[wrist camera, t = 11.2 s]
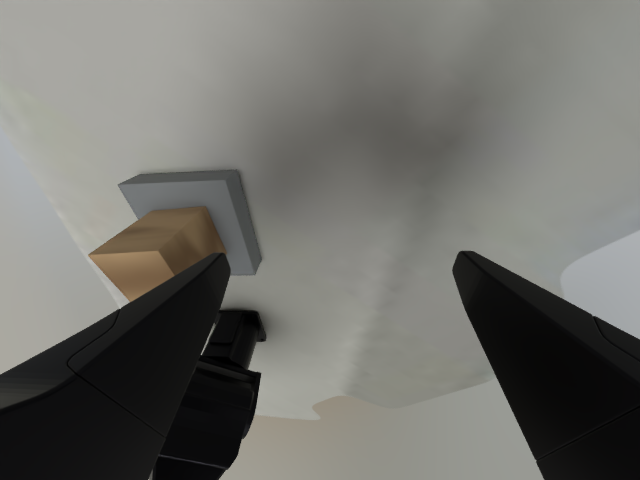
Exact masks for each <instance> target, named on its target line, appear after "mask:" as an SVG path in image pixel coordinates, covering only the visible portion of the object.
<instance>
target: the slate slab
mask: <svg viewBox="0 0 640 480" xmlns="http://www.w3.org/2000/svg"><path fill="white" fill-rule="evenodd" d="M118 187H119V188H120V190H121V192H122V193H123V195H124V197H125V198H126V200H127V202H128V203H129V205H130V207H131V208H132V210H133V212H134V213H135V215H136V217H137V218H138V220H139V219H140V218H142V217H143V216H145V215H146V214H148V213H149V212H151V211H155V210H167V209H178V208H190V207H201V206H206V208H207V210H208V213H209V215H210V217H211V219H212V221H213V223H214V226H215V228H216V230H217V232H218V234H219V237H220V239H221V241H222V243H223V245H224V247H225V250H226V252H227V254H226V257H227V259H228V262H229V265H230V268H231V274H230V275H255V274H256V272H257V269H258V267H259V265H260V262H261V260H262V259H261V255H260V252H259V248H258V244H257V241H256V237H255V233H254V230H253V226H252V222H251V219H250V215H249V212H248V208H247V204H246V201H245V197H244V193H243V190H242V186H241V182H240V179H239V175H238V171H237V170H221V171H199V172H178V173H157V174H139V175H137V176H135V177H133V178H131V179H129V180H126V181H124V182H122V183H120V184H118Z"/></svg>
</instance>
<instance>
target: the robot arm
mask: <svg viewBox="0 0 640 480" xmlns="http://www.w3.org/2000/svg"><path fill="white" fill-rule="evenodd" d="M452 271H453V276H454V279H455V282H456V285H457V288H458V291H459V294H460V297H461V300H462V303H463V305H464V308H465V311H466V313H467V315H468V317H469V320H470V322H471V324H472V326H473V328H474V330H475V332H476V334H477V337H478V339H479V341H480V343H481V345H482V347H483V349H484V352H485V354H486V356H487V358H488V360H489V362H490V364H491V366H492V369H493V371H494V373H495V375H496V377H497V379H498V381H499V383H500V385H501V388H502V390H503V392H504V394H505V396H506V398H507V400H508V403H509V405H510V407H511V409H512V411H513V413H514V415H515V417H516V420H517V422H518V424H519V426H520V428H521V430H522V433H523V435H524V437H525V439H526V441H527V443H528V445H529V447H530V450H531V452H532V454H533V456H534V458H535V459H536V460H537V461H536V463H537V465H538V467H539V469H540V471H541V473H542V476H543V478H544V480H640V339H638V338H636V337H634V336H632V335H630V334H628V333H626V332H624V331H622V330H620V329H618V328H616V327H614V326H613V325H611V324H609V323H607V322H605V321H603V320H601V319H600V318H598V317H596V316H592V315H591V314H590V313H588V312H586V311H584V310H583V309H581V308H579V307H577V306H575V305H573V304H571V303H569V302H567V301H566V300H564V299H562V298H560V297H558V296H556V295H554V294H553V293H551V292H549V291H547V290H545V289H543V288H541V287H539V286H538V285H536V284H534V283H532V282H530V281H528V280H526V279H524V278H522V277H521V276H519V275H517V274H515V273H513V272H511V271H509V270H507V269H506V268H504V267H502V266H500V265H498V264H496V263H494V262H492V261H491V260H489V259H487V258H485V257H483V256H481V255H479V254H477V253H476V252H474V251H460V252H459V253H458V255H457V257H456V260H455V263H454V265H453V269H452ZM230 274H231V268H230V265H229V262H228V259H227V257H226V254H225V253H223V252H214V253H212V254H210V255H208V256H207V257H205V258H203V259H202V260H200V261H198V262H197V263H195V264H193V265H192V266H190V267H188V268H187V269H185V270H183V271H182V272H180V273H178V274H177V275H175V276H173V277H172V278H170V279H168V280H167V281H165V282H163V283H162V284H160V285H158V286H157V287H155V288H153V289H152V290H150V291H148V292H147V293H145V294H143V295H142V296H140V297H138V298H137V299H135V300H133V301H131V302H130V303H128V304H126V305H125V306H123V307H122V308H121V309H118V310H116V311H115V312H113V313H111V314H110V315H108V316H107V317H105V318H103V319H101V320H100V321H98V322H96V323H94V324H93V325H91V326H89V327H87V328H86V329H84V330H82V331H80V332H79V333H77V334H75V335H73V336H71V337H69V338H68V339H66V340H64V341H62V342H60V343H58V344H56V345H55V346H53V347H51V348H49V349H47V350H45V351H44V352H42V353H40V354H38V355H36V356H34V357H32V358H30V359H29V360H27V361H25V362H23V363H21V364H19V365H17V366H16V367H14V368H12V369H10V370H8V371H6V372H4V373H2V374H1V375H0V480H148V479H149V480H219V478H220V477H221V476H222V474H223V473H224V472H225V470H227V469H228V468H229V467H230V466H231V465H232V463H233V462H234V460H235V459H236V457H237V455H238V452H239V448H240V443H241V440H242V439H244V438H245V436H246V435H247V433H248V431H249V428H250V425H251V423H252V420H253V417H254V414H255V409H256V404H257V398H258V391H259V385H260V378H261V373H260V372H254V371H250V370H248V368H249V364H250V361H251V358H252V355H253V351H254V348H255V345H256V342H264V341H266V335H265V332H264V329H263V326H262V323H261V320H260V317H259V314H258V313H257V312H254V311H219V309H220V307H221V304H222V301H223V298H224V294H225V291H226V287H227V284H228V281H229V277H230ZM214 323H215V325H216V326H215V328H214V330H213V332H212V334H211V336H210V338H209V340H208V343H207V345H206V348H205V350H204V352H203V354H202V355H201V353H202V350H203V348H204V345H205V343H206V341H207V338H208V336H209V333H210V331H211V329H212V326H213V324H214Z"/></svg>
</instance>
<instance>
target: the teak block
mask: <svg viewBox="0 0 640 480" xmlns="http://www.w3.org/2000/svg"><path fill="white" fill-rule="evenodd" d="M214 252H223V253H225V254H227V252H226V250H225V247H224V245H223V243H222V241H221V239H220V237H219V234H218V232H217V230H216V228H215V226H214V223H213V221H212V219H211V217H210V215H209V213H208V210H207V208H206V206H201V207H190V208H178V209H167V210H155V211H151V212H149V213H148V214H146V215H145V216H143V217H142V218H140V219H139V220H138V221H136V222H135V223H133V224H132V225H130V226H129V227H127V228H126V229H125V230H123V231H122V232H120V233H119V234H117V235H116V236H114V237H113V238H112V239H110V240H109V241H107V242H106V243H104V244H103V245H101V246H100V247H99V248H97V249H96V250H94V251H93V252H91V253H90V254H89V255H88V256H89V257H90V258H91V259H92V261H93V262H94V263H95V264H96V265H97V266H98V267H99V268H100V269H101V270H102V271H103V273H104V274H105V275H106V276H107V277H108V278H109V279H110V280H111V281H112V282H113V284H114V285H115V286H116V287H117V288H118V289H119V290H120V291H121V292H122V293H123V294H124V296H125V297H126V298H127V299H128V300H129V301H130V302H131V301H133V300H135V299H137V298H138V297H140V296H142V295H143V294H145V293H147V292H148V291H150V290H152V289H153V288H155V287H157V286H158V285H160V284H162V283H163V282H165V281H167V280H168V279H170V278H172V277H173V276H175V275H177V274H178V273H180V272H182V271H183V270H185V269H187V268H188V267H190V266H192V265H193V264H195V263H197V262H198V261H200V260H202V259H203V258H205V257H207V256H208V255H210V254H212V253H214Z"/></svg>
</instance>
